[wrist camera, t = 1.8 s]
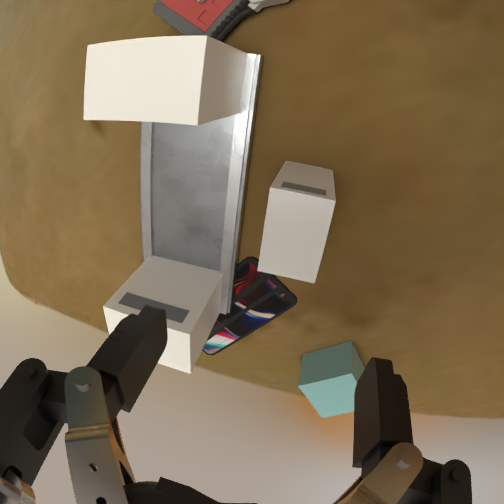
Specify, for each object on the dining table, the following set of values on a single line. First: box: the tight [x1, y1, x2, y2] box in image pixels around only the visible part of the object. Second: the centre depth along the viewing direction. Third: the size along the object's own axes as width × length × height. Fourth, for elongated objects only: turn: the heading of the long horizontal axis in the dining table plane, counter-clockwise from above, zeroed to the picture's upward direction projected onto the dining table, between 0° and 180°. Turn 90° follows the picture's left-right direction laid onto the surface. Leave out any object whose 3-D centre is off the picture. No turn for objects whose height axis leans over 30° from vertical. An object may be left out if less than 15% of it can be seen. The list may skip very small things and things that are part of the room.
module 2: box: [103, 255, 223, 374], centre depth 29 cm, size 8×5×9 cm, turn 83°
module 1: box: [84, 36, 247, 125], centre depth 19 cm, size 8×5×9 cm, turn 83°
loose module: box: [257, 160, 336, 283], centre depth 23 cm, size 4×6×8 cm
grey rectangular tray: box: [140, 54, 263, 314], centre depth 28 cm, size 10×25×2 cm, turn 173°
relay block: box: [298, 341, 365, 418], centre depth 33 cm, size 5×6×7 cm
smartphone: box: [202, 257, 297, 355], centre depth 35 cm, size 7×1×15 cm
